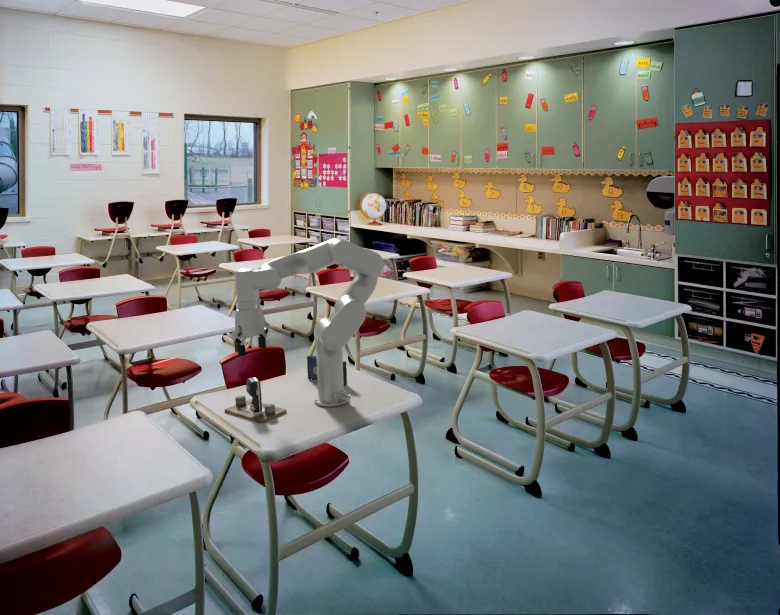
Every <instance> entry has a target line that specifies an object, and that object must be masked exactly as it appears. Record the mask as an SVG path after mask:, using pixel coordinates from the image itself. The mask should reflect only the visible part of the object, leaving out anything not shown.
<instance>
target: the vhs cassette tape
mask: <svg viewBox="0 0 780 615" xmlns="http://www.w3.org/2000/svg"><path fill="white" fill-rule="evenodd" d="M306 361H307V362H306V366H307V369H306V370H307V380H308V379H312V380H317V381H318V379H317V357H316V355H313V354H310V355H307V356H306ZM347 370H348V369H347V361H344V360H343V383H344V387H346V386H348V374H347V373H348V372H347ZM312 380H311V381H312ZM317 381H316V382H317ZM345 385H346V386H345Z"/></svg>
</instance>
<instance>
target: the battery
mask: <svg viewBox="0 0 780 615" xmlns="http://www.w3.org/2000/svg"><path fill="white" fill-rule="evenodd" d="M245 385H246V392H247V393H248V395H249V396H250V397H251V400H252V402H251V405H250V408H251V410H252V411H253V412H260V411H262V403H263V402H262V386H261V382H260V380H259V379H258V377H249V378H247V379H246V383H245Z"/></svg>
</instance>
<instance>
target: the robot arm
mask: <svg viewBox="0 0 780 615" xmlns="http://www.w3.org/2000/svg"><path fill="white" fill-rule="evenodd" d="M335 264H338V265H340V266H343V267H345V268H347V269H351V270H353V271H355V273H354V277H353V280H352V281H351V282H350V284H348V285H349V286H347V288H346V289H345V290H344V292H343V293H342V294H341V295H340V297H339V298H337V300H336V301H335V303H334V307H333V310H334V314H335V315H334V317H333V318H332V317H323V318H320V319H319V320H318V321H317V322H316V324H315V326H314V330H313V337H314V344H315V356H316V357H317V379H318V382H317V393H318V394H317V395H316V396H315V397H314V400H313V401H314V403H315V404H316V405H317V406H320V407H324V408H325V407H327V408H332V407H333V408H334V407H340V406H342V405H344V404H346V403H349V402H350V400H351V398H352V395H351V394H347V389H345V388H344V387H345V386H344V383H343V361H344V360H343V359H344V358H343V348H344V347H345V346H346V345H347V344H348V343H349V341H350V340H351V339H352V337H353V336H354V335H355V334H356V332H357V331H358V330H359V329H360V327H361V326H362V325H363V323H364V322H365V320H366V316H367V309H366V306H365V305H366V303H367V302H368V300H369V299H370V298H371V296H372V294H373V293H374V291H375V290H376V287H377V283H378V278H379V277H378V275H379V274H380V273H381V272H383V269H384V265H385V263H384V259H383V257H382V255H381V254H379V253H378V252H376V251H373V250H371V249H369V248H366V247H362V246H359V245H357V244H355V243H352V242H350V241H348V240H346V239H344V238H342V237H334V238H331V239H328V240H326V241H323V242H321V243H319V244H316V245H314V246H311V247H308V248H306V249H303V250H300V251H297V252H294V253H291V254H286V255H284V256H281V257H278V258H276V259H273V260H271V261H268V262H266V263H264V264H262V265H260V266H259V267H258V269H255V268H253V267H252V268H251V267H250V268H249V267H247V268H246V267H243V268H239V269H236V271H235V272H234V275H235V277H234V278H235V288H236V302H237V309H236V311H235V316H234V317H235V318H234V330H233V331H232V332H231V333H230V337H231V339H232V341H233V342H234V343H235V345H236V346H237V353H238V354H237V355H238V356H242V357H245V356H246V355H247V351H246V344H245V342H246V339H250V338H252V337H253V338H254V337H256V336H257V342H258V349H261V350H263V349H264V350H265V349H267V340H266V338H267V336H268V334H269V329H270V325H271V324H270V323H269V322H266V321H265V319H264V318H265V317H264V312H263V309H262V306H261V304H260V303H261V301H262V300H261V298H260V290H265V291H271V290H275V289H277V288H279V287H280V285H281V283H282V280H283V279H285V278H287V277H290V276H295V275H308V274H309V275H310V274H313V273H315V272H317V271H320V270H323V269H325V268H327V267H330V266H333V265H335Z"/></svg>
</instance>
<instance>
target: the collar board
mask: <svg viewBox="0 0 780 615" xmlns="http://www.w3.org/2000/svg"><path fill="white" fill-rule="evenodd" d="M251 402H252V398H251V399H250V398H249V399H247V397H246V395H239V396H235V405H233V406H230V407H227V408H225V409H224V413H226V412H227V413H226V414H229V413H231V414H230V415H232V414H233V415H232V416H236V417H239V418H243V419H245V418H246V419H245V420H248V419H249V421H252V420H253V421H252V422H255V421H256V423H258V422H259V423H258V424H261V423H262V424H264V423H266V422H268V421H270V420H274V419H275V418H277V417H279V416H282V415H284V414H286V413H287V409H286V408H282V407H278V406H275V404H274V403H264V402H262V411H260V412H253V411H252V410H251V408H250V405H251Z"/></svg>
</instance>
